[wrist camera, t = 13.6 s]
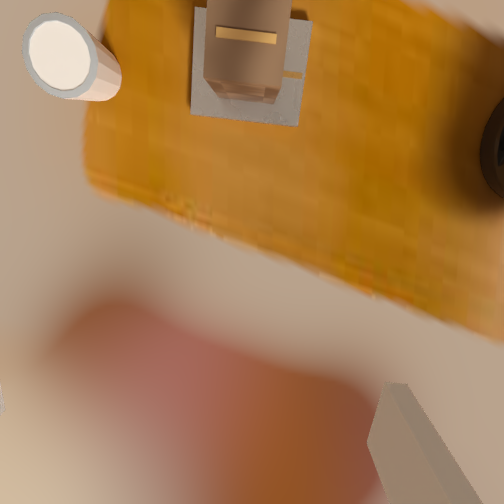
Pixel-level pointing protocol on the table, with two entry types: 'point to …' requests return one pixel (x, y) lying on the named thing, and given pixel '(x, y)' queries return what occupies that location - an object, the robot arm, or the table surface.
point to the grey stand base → (275, 114)
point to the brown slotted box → (246, 48)
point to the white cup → (69, 59)
